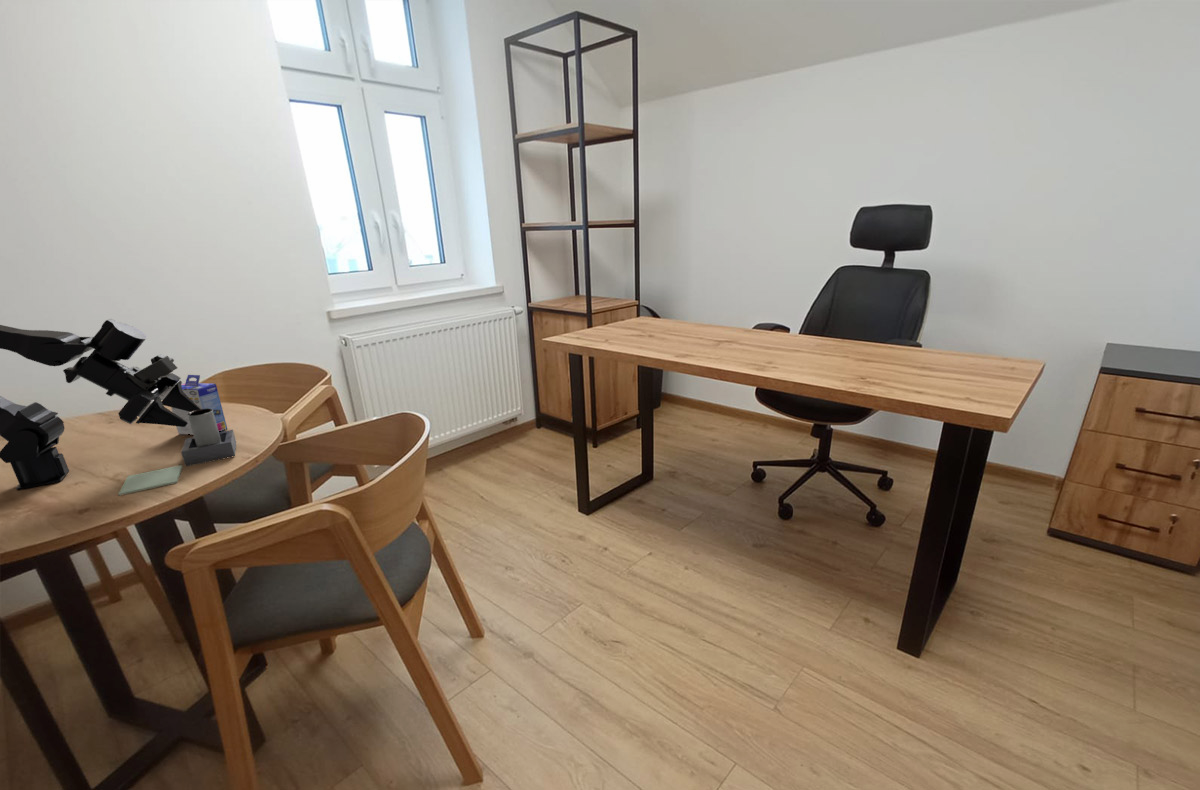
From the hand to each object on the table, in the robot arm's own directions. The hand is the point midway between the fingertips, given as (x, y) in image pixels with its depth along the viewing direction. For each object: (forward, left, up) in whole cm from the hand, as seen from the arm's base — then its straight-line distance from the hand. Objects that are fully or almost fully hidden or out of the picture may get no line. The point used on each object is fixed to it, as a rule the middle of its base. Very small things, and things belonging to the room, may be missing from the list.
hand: (193, 418), depth 115 cm
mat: (-8, -9, -9) cm, 15 cm away
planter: (+1, 0, -9) cm, 9 cm away
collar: (+1, 0, -9) cm, 9 cm away
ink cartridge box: (-2, +19, -9) cm, 21 cm away
